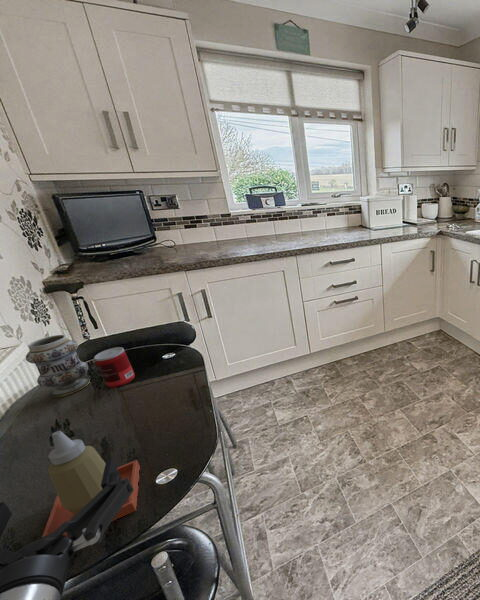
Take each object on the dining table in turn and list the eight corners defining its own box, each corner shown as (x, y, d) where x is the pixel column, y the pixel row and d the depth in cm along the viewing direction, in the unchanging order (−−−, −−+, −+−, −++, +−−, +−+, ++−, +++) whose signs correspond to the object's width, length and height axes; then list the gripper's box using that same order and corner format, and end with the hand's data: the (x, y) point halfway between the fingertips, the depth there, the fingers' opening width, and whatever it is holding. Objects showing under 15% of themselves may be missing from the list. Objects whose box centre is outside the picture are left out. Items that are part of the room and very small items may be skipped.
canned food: (135, 372, 115) (123, 344, 112) (136, 381, 110) (123, 352, 106) (107, 381, 111) (94, 353, 107) (107, 391, 105) (92, 362, 101)
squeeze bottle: (60, 517, 63) (13, 445, 57) (105, 481, 71) (68, 414, 64) (87, 527, 61) (42, 454, 55) (131, 489, 68) (96, 420, 62)
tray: (44, 555, 58) (38, 546, 57) (62, 500, 68) (57, 492, 67) (136, 511, 64) (132, 502, 63) (140, 467, 75) (136, 459, 74)
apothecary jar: (103, 375, 115) (81, 329, 109) (77, 396, 104) (51, 346, 97) (65, 380, 114) (41, 334, 107) (35, 402, 102) (6, 352, 96)
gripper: (-133, 718, 34) (-36, 547, 51) (153, 559, 47) (156, 464, 64) (-184, 681, 32) (-64, 513, 48) (134, 523, 44) (142, 433, 61)
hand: (61, 485), depth 56 cm, fingers open, 13 cm apart
